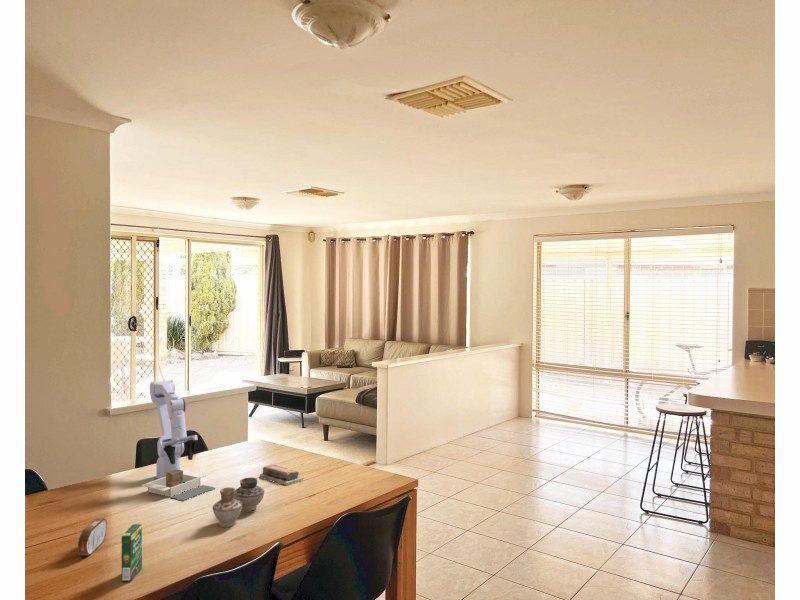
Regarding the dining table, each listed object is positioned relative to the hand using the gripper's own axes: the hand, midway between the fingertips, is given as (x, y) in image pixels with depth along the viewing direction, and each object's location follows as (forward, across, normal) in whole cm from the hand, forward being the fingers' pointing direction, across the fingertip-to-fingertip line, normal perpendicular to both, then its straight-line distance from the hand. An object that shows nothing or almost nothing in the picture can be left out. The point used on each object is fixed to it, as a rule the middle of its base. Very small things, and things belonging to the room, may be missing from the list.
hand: (181, 461), depth 232 cm
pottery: (+26, +29, -17) cm, 43 cm away
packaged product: (+15, +32, +23) cm, 42 cm away
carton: (+9, -6, +3) cm, 11 cm away
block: (+9, -6, +3) cm, 11 cm away
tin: (+26, -4, -49) cm, 56 cm away
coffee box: (+35, +16, -62) cm, 73 cm away
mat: (+13, +4, 0) cm, 14 cm away
